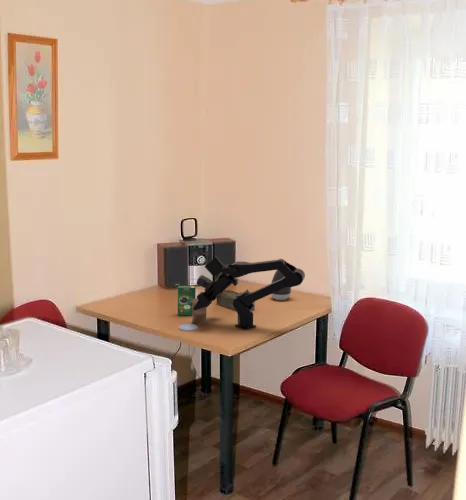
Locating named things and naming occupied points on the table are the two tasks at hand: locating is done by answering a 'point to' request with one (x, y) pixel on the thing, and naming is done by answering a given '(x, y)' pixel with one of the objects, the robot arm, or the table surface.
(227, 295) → the beverage carton
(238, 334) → the table surface
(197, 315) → the brown rounded cylinder
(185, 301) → the coffee box
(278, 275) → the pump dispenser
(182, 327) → the slate pad
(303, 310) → the table surface
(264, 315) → the table surface
